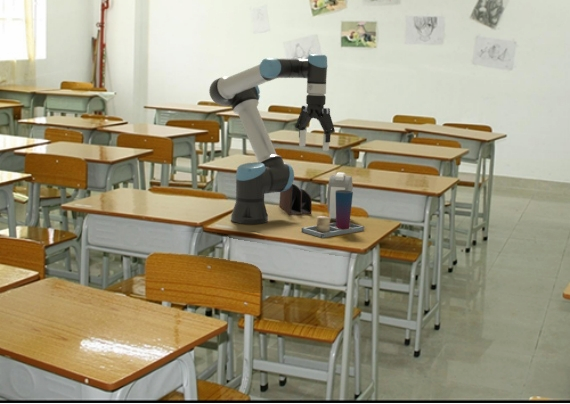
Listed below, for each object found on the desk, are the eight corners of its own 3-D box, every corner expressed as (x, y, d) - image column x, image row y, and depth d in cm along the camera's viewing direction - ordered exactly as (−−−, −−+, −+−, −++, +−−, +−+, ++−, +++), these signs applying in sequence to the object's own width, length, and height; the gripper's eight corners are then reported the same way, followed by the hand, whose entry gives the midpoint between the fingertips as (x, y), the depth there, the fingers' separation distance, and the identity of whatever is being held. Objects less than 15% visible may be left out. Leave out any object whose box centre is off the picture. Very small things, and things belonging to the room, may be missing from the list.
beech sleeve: (313, 232, 308) (314, 217, 307) (323, 230, 311) (323, 215, 310) (322, 234, 304) (323, 219, 303) (332, 233, 308) (332, 218, 307)
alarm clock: (332, 215, 345) (334, 169, 341) (351, 216, 344) (353, 170, 340) (325, 224, 328) (327, 175, 324) (346, 225, 326) (348, 176, 322)
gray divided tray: (301, 234, 309) (301, 227, 308) (342, 227, 323) (343, 221, 323) (322, 240, 300) (322, 233, 300) (363, 232, 315) (363, 226, 314)
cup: (332, 230, 312) (334, 192, 309) (335, 226, 319) (336, 189, 316) (350, 231, 311) (351, 193, 308) (352, 227, 317) (353, 190, 315)
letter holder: (289, 215, 343) (290, 183, 340) (279, 206, 362) (280, 175, 359) (311, 215, 345) (313, 182, 343) (300, 206, 364) (301, 175, 362)
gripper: (287, 92, 319) (286, 145, 323) (331, 97, 301) (328, 153, 305) (301, 92, 324) (299, 144, 328) (345, 96, 306) (342, 151, 310)
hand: (313, 148), depth 317 cm, fingers open, 13 cm apart
